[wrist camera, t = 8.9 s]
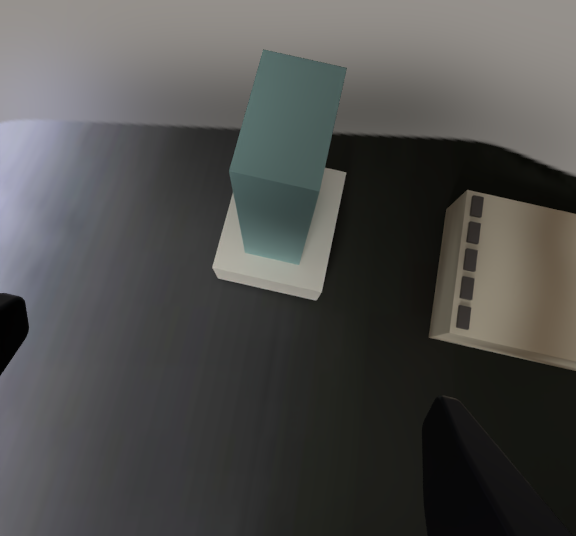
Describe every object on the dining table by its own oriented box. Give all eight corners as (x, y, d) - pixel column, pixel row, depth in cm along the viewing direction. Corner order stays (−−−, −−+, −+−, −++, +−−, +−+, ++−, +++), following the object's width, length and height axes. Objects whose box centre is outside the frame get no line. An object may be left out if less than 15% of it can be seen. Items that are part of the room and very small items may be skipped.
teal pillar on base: (338, 191, 23) (393, 49, 13) (316, 300, 21) (358, 236, 11) (246, 170, 23) (230, 12, 13) (217, 278, 21) (173, 194, 11)
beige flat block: (629, 250, 23) (676, 234, 20) (626, 382, 21) (676, 383, 18) (446, 209, 23) (469, 188, 20) (428, 337, 21) (451, 332, 19)
